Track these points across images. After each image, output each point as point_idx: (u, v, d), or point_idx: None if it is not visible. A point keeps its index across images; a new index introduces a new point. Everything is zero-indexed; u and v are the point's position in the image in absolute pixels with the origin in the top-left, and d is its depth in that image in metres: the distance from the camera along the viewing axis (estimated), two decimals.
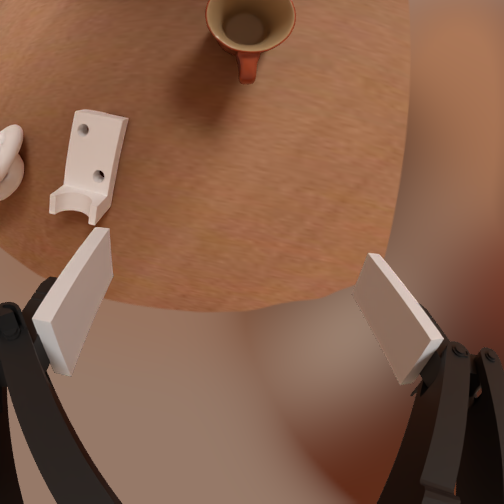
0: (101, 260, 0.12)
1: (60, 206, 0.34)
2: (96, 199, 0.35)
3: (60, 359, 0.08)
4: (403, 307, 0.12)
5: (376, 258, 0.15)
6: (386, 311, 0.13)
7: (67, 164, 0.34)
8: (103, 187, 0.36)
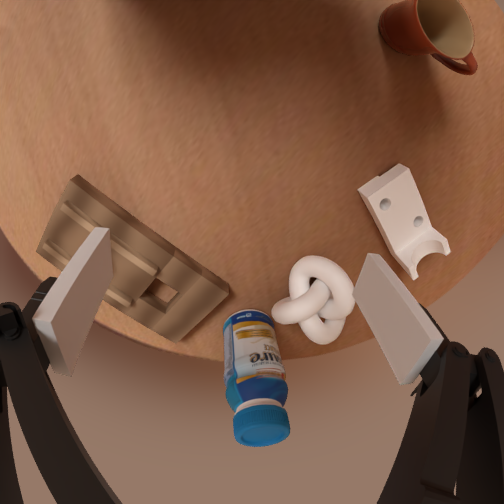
0: (101, 260, 0.12)
1: (415, 267, 0.38)
2: (434, 236, 0.37)
3: (60, 359, 0.08)
4: (403, 307, 0.12)
5: (376, 258, 0.15)
6: (386, 311, 0.13)
7: (389, 238, 0.39)
8: (426, 224, 0.38)
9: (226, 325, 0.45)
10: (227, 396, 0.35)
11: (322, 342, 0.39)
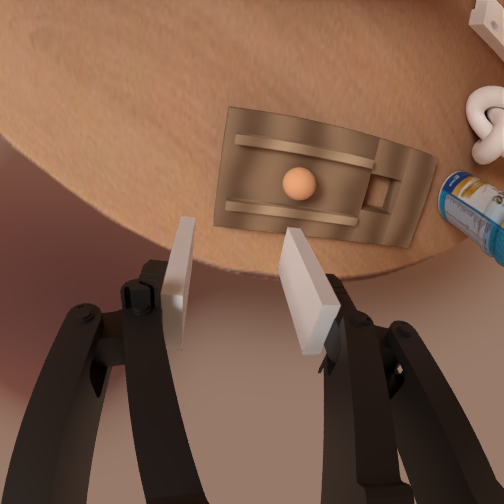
0: (192, 246, 0.15)
1: None
2: None
3: (177, 333, 0.11)
4: (305, 274, 0.13)
5: (294, 231, 0.16)
6: (296, 281, 0.14)
7: None
8: None
9: (443, 199, 0.35)
10: (500, 251, 0.25)
11: None
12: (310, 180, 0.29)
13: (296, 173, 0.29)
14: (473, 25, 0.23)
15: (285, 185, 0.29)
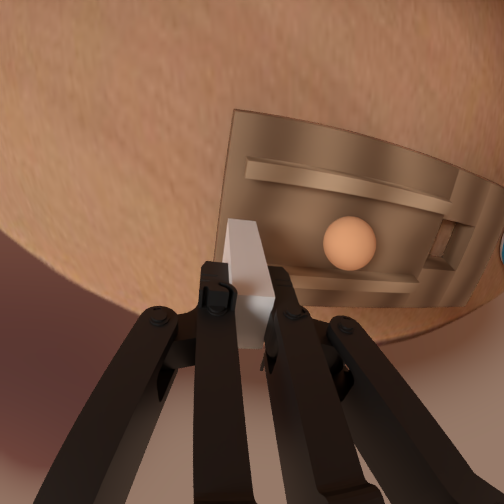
0: None
1: None
2: None
3: (242, 332, 0.11)
4: None
5: (248, 224, 0.16)
6: None
7: None
8: None
9: None
10: None
11: None
12: (370, 243, 0.17)
13: (349, 231, 0.17)
14: None
15: (329, 249, 0.18)
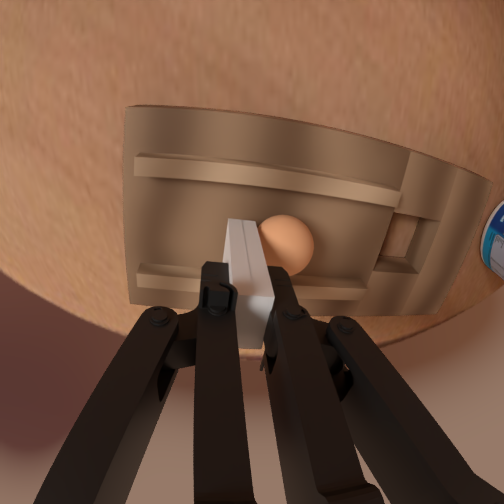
0: None
1: None
2: None
3: (243, 332, 0.11)
4: None
5: (247, 224, 0.16)
6: None
7: None
8: None
9: (491, 240, 0.21)
10: None
11: None
12: (312, 241, 0.16)
13: (291, 237, 0.15)
14: None
15: (271, 262, 0.15)
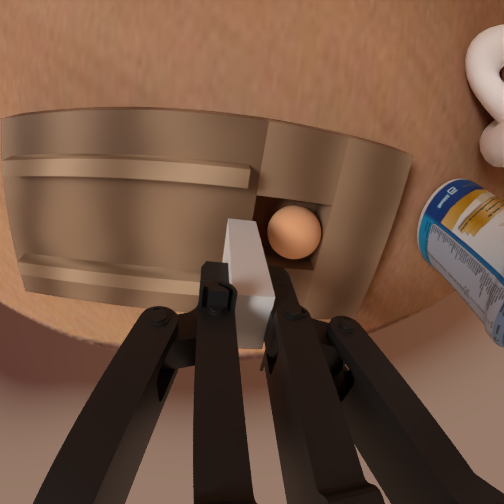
0: None
1: None
2: None
3: (242, 332, 0.11)
4: None
5: (248, 224, 0.16)
6: None
7: None
8: None
9: (426, 231, 0.20)
10: None
11: None
12: (319, 227, 0.18)
13: (302, 224, 0.17)
14: None
15: (285, 246, 0.18)
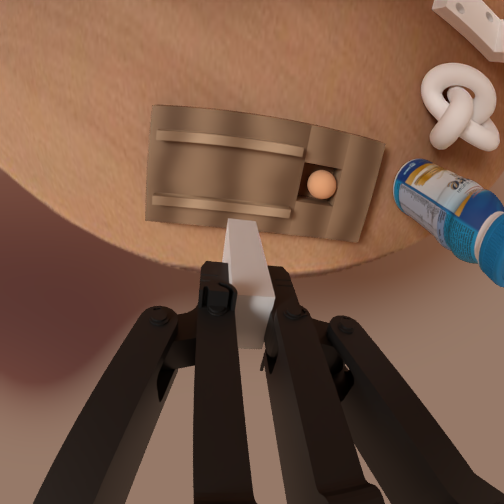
0: None
1: None
2: None
3: (242, 332, 0.11)
4: None
5: (248, 224, 0.16)
6: None
7: (482, 38, 0.23)
8: (495, 18, 0.21)
9: (397, 189, 0.35)
10: (455, 243, 0.25)
11: (493, 144, 0.25)
12: (335, 181, 0.33)
13: (327, 178, 0.32)
14: (436, 9, 0.23)
15: (318, 189, 0.33)
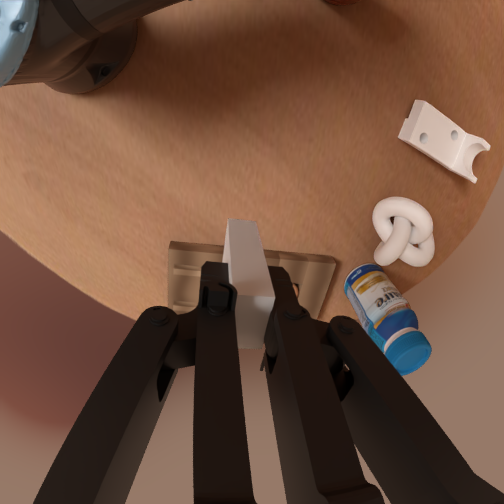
0: None
1: (471, 173, 0.37)
2: (472, 140, 0.35)
3: (242, 332, 0.11)
4: None
5: (248, 224, 0.16)
6: None
7: (441, 160, 0.39)
8: (461, 133, 0.37)
9: (346, 288, 0.51)
10: None
11: (424, 263, 0.41)
12: (297, 291, 0.49)
13: None
14: (401, 139, 0.39)
15: None
